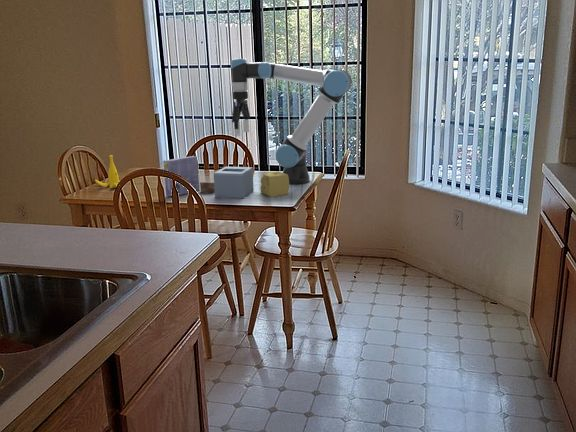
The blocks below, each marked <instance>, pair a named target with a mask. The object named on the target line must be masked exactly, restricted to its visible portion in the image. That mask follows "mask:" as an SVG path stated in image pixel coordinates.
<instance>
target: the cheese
mask: <svg viewBox="0 0 576 432" xmlns="http://www.w3.org/2000/svg"><path fill="white" fill-rule="evenodd" d="M260 183H261V185H260V193H261V194H263V195H266V196H268V197H270V198H272V197H278V196H283V195H289V192H290V184H289V177H288V174H285V173H283V172H281V171H269V172H267V173H265V174H263V175H262V176H261V178H260Z"/></svg>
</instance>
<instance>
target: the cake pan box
mask: <svg viewBox="0 0 576 432" xmlns="http://www.w3.org/2000/svg"><path fill="white" fill-rule="evenodd" d="M162 163H163V171H164V170H168V171H171V172H173V173H176V174H179V175H180V176H182V177H184V178H185V179H187V180H188V181H189V182H190V183H191V185H192V186H193V187H194V188H195V189H196V191H195V192H199V191H200V192H201V189H200V181H199V179H200V177H199V176H200V175H199V162H198V155H192V156H191V155H190V156H185V157H179V158H178V157H177V158H172V159H165V160H163V162H162ZM164 186H165V187H164V188H165V196H166V197H169V198H172V197H171V190H172V180H171V179H168V178H165V177H164ZM176 188H177V190H178V193H179V196H182V195H188V194H189V193H188V191H187V189H186V188H185V187H183V186H182V185H181V184H179V183H177V182H176Z"/></svg>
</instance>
